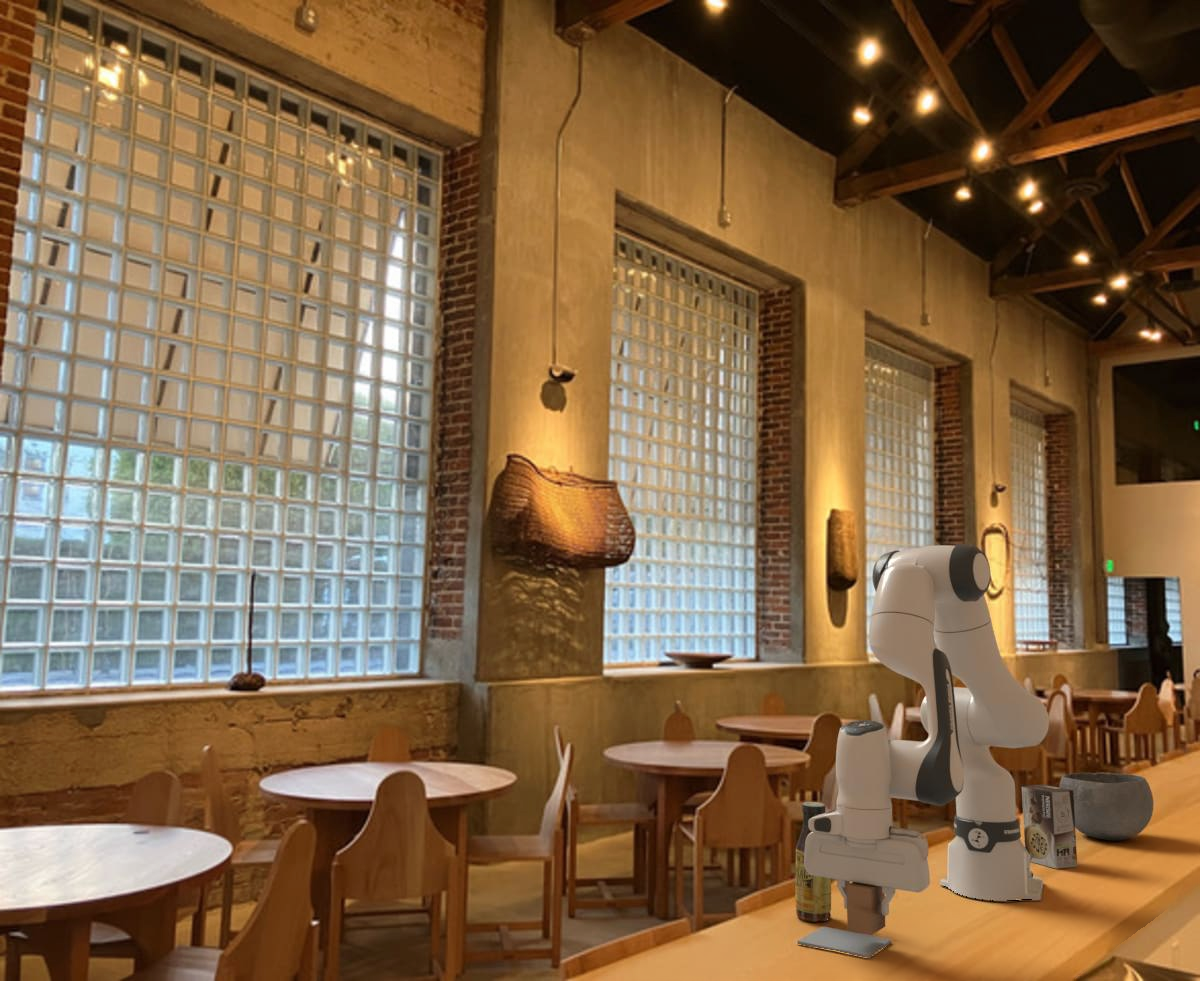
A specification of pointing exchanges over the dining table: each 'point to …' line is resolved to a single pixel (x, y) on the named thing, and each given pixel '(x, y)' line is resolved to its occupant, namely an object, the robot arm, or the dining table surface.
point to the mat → (845, 941)
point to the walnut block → (864, 908)
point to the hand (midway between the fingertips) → (866, 911)
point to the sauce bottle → (810, 876)
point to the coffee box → (1049, 825)
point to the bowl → (1110, 804)
